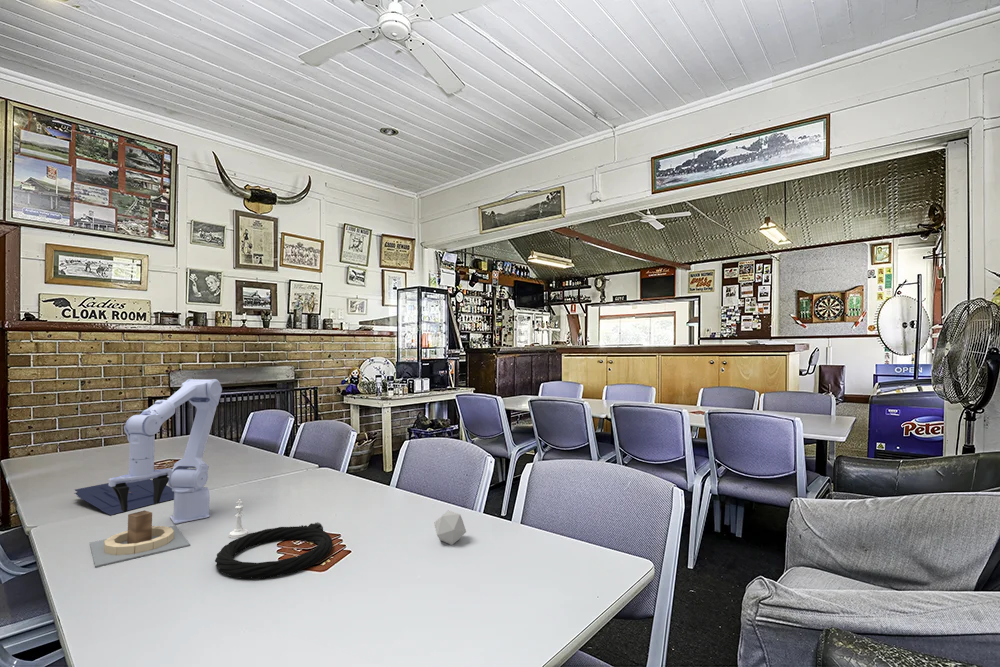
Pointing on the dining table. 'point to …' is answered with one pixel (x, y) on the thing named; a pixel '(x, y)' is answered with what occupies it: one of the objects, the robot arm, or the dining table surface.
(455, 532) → the die
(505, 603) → the dining table surface
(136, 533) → the wooden peg
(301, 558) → the cable lock
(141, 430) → the robot arm
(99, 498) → the dark blue flat plate
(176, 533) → the bead board
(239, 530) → the chess piece
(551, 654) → the dining table surface
